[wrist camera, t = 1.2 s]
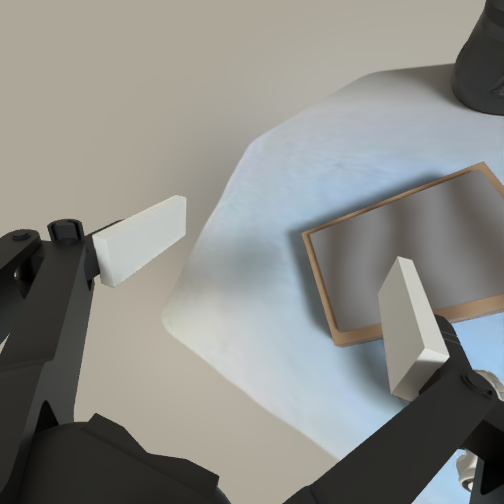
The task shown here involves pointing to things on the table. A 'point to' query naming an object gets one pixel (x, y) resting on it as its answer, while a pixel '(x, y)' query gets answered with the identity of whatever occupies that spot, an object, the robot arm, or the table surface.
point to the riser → (414, 253)
